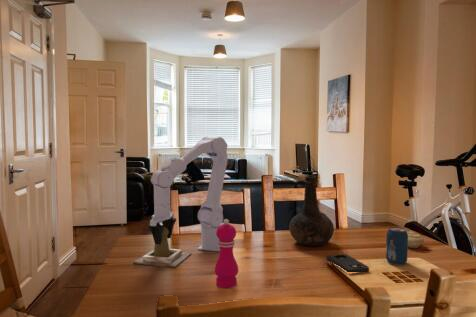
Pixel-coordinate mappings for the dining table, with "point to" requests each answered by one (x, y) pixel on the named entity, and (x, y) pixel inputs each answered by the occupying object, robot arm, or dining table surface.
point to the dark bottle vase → (311, 219)
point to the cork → (162, 246)
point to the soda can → (396, 246)
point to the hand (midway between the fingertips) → (163, 240)
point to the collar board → (163, 259)
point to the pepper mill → (226, 256)
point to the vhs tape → (348, 263)
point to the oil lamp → (414, 239)
